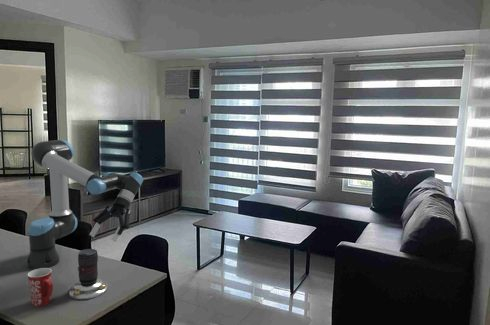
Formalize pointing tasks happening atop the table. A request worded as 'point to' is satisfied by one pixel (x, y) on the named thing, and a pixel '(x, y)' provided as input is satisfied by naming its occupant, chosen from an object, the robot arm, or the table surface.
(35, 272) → the mug
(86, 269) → the camera lens
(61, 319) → the table surface
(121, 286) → the table surface
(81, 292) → the base
